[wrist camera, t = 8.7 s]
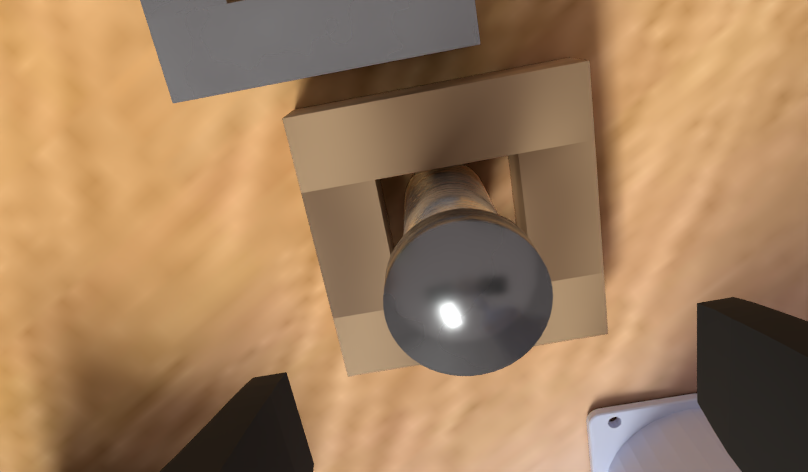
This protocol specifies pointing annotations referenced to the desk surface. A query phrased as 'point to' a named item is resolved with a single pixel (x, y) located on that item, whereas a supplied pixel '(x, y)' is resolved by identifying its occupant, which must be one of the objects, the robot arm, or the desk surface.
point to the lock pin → (463, 279)
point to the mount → (295, 38)
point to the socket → (441, 147)
